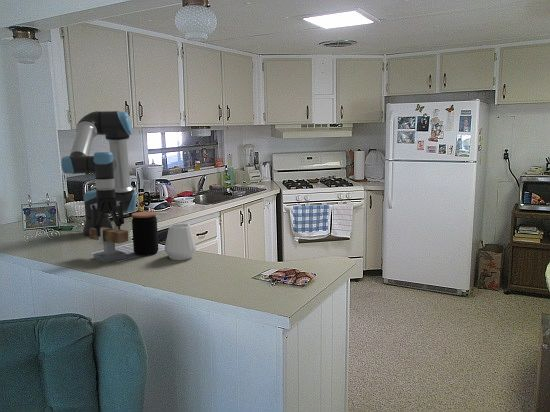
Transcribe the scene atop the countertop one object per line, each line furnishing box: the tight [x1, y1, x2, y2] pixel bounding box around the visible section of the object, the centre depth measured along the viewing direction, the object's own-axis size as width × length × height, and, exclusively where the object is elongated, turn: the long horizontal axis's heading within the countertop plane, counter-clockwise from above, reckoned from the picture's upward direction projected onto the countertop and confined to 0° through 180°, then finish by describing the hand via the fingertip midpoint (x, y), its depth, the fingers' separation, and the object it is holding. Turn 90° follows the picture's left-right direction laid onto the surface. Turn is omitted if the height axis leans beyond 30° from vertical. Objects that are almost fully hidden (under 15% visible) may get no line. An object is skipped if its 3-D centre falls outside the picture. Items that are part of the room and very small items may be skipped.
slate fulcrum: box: [93, 241, 127, 264], centre depth 196 cm, size 10×10×8 cm
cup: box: [164, 223, 197, 261], centre depth 196 cm, size 13×13×14 cm
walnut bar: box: [89, 227, 129, 244], centre depth 195 cm, size 18×5×4 cm, turn 60°
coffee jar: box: [131, 211, 159, 257], centre depth 203 cm, size 11×11×18 cm
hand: (109, 242), depth 196 cm, fingers open, 6 cm apart
